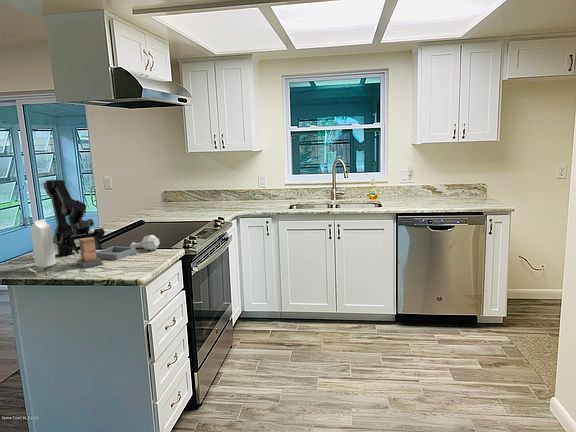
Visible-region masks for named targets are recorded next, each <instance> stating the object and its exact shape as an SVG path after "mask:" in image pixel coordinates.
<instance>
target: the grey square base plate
mask: <svg viewBox="0 0 576 432" xmlns="http://www.w3.org/2000/svg"><path fill="white" fill-rule="evenodd" d="M96 258H97V257H96ZM76 263H77V264H74V266H75V267H77V268H79V269H81V270H84V269H89V268H95V267H97V266H103V265H105V263H103V262H102V259H100V258H97V260H92V261H87V262H83V261H82V260H81V258H79V259H76Z"/></svg>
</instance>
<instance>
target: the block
mask: <svg viewBox="0 0 576 432" xmlns="http://www.w3.org/2000/svg"><path fill="white" fill-rule="evenodd" d="M78 240H79V241H78V242H79V249H80V251H79V252H80V259H81V260H82V261H83V262H87V261H92V260H97V258H96V252H97V251H96V249H97V247H96V244H95V239H94V238H93V237H90V238H84V239H78Z"/></svg>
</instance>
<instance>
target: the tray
mask: <svg viewBox="0 0 576 432" xmlns="http://www.w3.org/2000/svg"><path fill="white" fill-rule="evenodd" d="M135 254H136V255H137V247H136V248H134V247H130V246H116V245H115V246H109V247H107V248H104V249H101V250H100V249H99V250H98V251H96V257H97V258H100V259H101V260H111V261H114V260H115V261H118V260H121V259H124V258H126V257H129V256H130V257H133V256H136V255H135ZM132 255H133V256H132Z"/></svg>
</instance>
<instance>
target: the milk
mask: <svg viewBox="0 0 576 432" xmlns="http://www.w3.org/2000/svg"><path fill="white" fill-rule="evenodd" d="M52 229H53V228H52V225H50V224H49V223H47V221H46V218H44V219H39V220H34V225H32V226H31V227H30V235H31V242H32V251H33V257H34V263H35V264H34V265H35V266H34V267H42V268H47V267H49V266H52V265H55V264H56V263H57V262H56V254H55V244H54V242H53V239H54V235H53V230H52Z"/></svg>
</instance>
